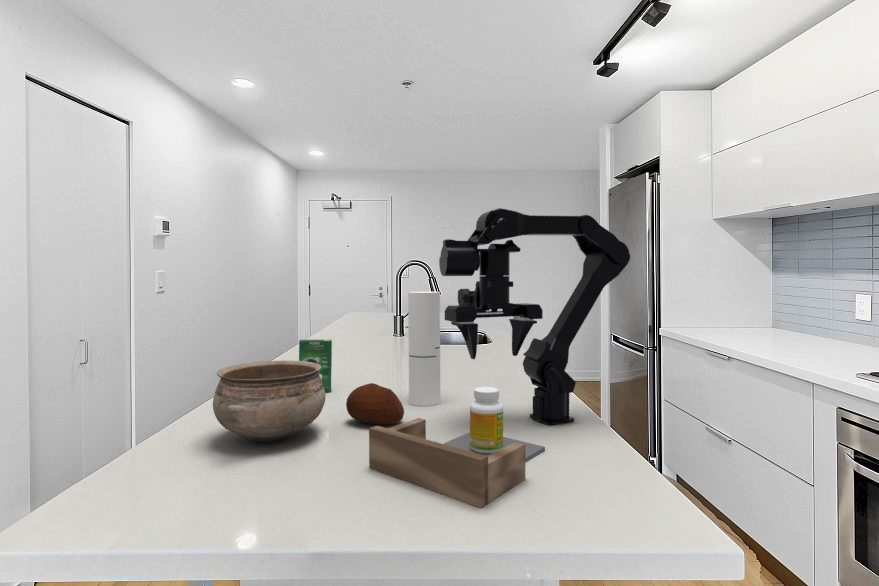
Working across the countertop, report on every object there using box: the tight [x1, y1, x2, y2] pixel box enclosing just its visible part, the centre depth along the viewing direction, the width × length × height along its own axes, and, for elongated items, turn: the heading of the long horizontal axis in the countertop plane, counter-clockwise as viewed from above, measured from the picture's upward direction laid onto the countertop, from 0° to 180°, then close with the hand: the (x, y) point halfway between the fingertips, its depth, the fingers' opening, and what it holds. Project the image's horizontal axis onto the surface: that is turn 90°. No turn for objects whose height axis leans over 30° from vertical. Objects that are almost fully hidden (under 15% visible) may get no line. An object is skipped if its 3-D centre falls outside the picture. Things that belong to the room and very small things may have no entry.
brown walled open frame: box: [368, 417, 527, 509], centre depth 71 cm, size 11×20×6 cm, turn 51°
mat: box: [442, 431, 546, 463], centre depth 81 cm, size 12×14×1 cm
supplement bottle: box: [469, 386, 504, 454], centre depth 80 cm, size 5×5×10 cm
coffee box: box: [298, 339, 333, 393], centre depth 121 cm, size 8×3×13 cm, turn 103°
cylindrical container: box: [407, 291, 441, 407], centre depth 111 cm, size 7×7×25 cm
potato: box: [345, 382, 405, 426], centre depth 95 cm, size 8×12×8 cm, turn 85°
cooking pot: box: [212, 360, 326, 444], centre depth 88 cm, size 25×19×12 cm
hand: (494, 357), depth 94 cm, fingers open, 9 cm apart
